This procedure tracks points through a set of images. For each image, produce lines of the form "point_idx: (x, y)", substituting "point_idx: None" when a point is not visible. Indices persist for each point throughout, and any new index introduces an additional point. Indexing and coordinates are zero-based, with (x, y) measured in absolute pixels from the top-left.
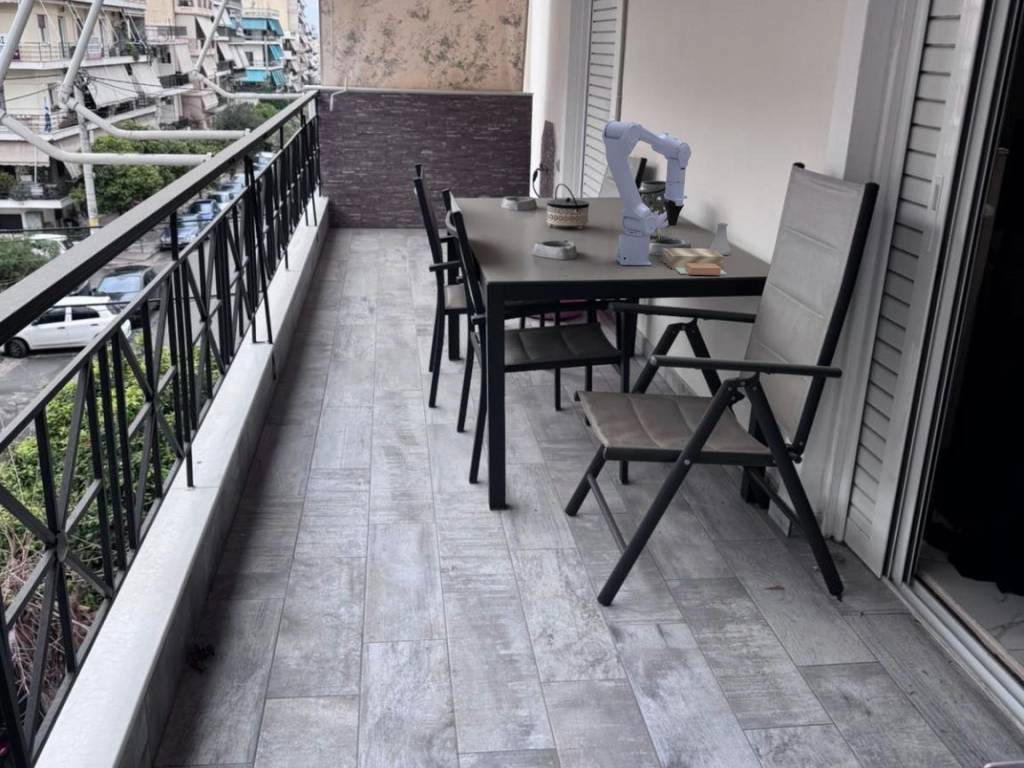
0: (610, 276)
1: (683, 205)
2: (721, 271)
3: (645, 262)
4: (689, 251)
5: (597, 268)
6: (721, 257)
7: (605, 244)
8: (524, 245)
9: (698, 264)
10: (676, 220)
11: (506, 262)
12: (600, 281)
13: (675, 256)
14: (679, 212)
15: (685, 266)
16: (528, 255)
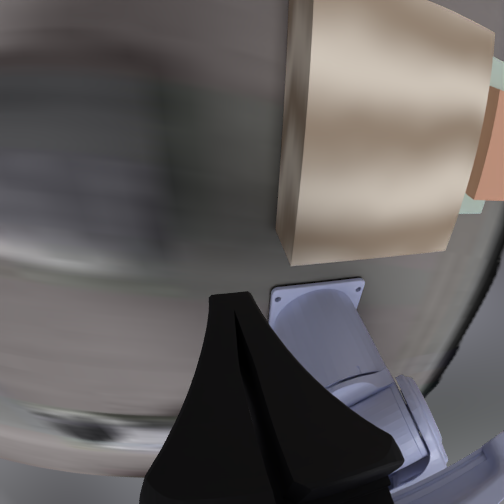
0: (427, 351)
1: (396, 451)
2: (496, 68)
3: (349, 298)
4: (390, 149)
5: None
6: (491, 43)
7: (25, 361)
8: (127, 455)
9: (496, 160)
10: (267, 327)
11: None
12: (447, 357)
13: (448, 237)
14: (323, 389)
15: (468, 194)
16: None
